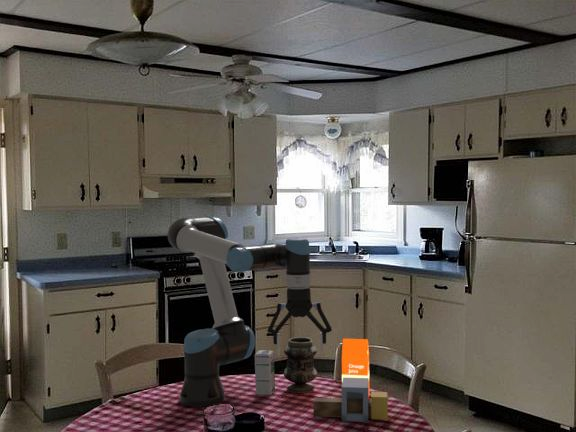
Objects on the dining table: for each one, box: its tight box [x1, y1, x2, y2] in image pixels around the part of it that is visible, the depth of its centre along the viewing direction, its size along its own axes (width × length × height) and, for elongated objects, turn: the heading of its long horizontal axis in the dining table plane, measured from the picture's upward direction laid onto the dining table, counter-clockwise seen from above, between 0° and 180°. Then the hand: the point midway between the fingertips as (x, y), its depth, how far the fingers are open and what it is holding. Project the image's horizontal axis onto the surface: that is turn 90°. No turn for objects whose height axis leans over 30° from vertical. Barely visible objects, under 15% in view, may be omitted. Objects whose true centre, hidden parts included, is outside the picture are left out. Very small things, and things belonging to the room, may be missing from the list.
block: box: [370, 391, 389, 421], centre depth 193 cm, size 5×5×7 cm
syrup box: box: [254, 349, 276, 396], centre depth 218 cm, size 6×6×14 cm
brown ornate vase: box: [283, 336, 318, 394], centre depth 221 cm, size 12×12×18 cm
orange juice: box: [341, 338, 370, 399], centre depth 212 cm, size 8×9×20 cm
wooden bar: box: [312, 397, 372, 419], centre depth 195 cm, size 18×4×5 cm, turn 83°
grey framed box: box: [341, 378, 370, 423], centre depth 194 cm, size 8×10×10 cm
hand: (300, 354), depth 196 cm, fingers open, 13 cm apart
